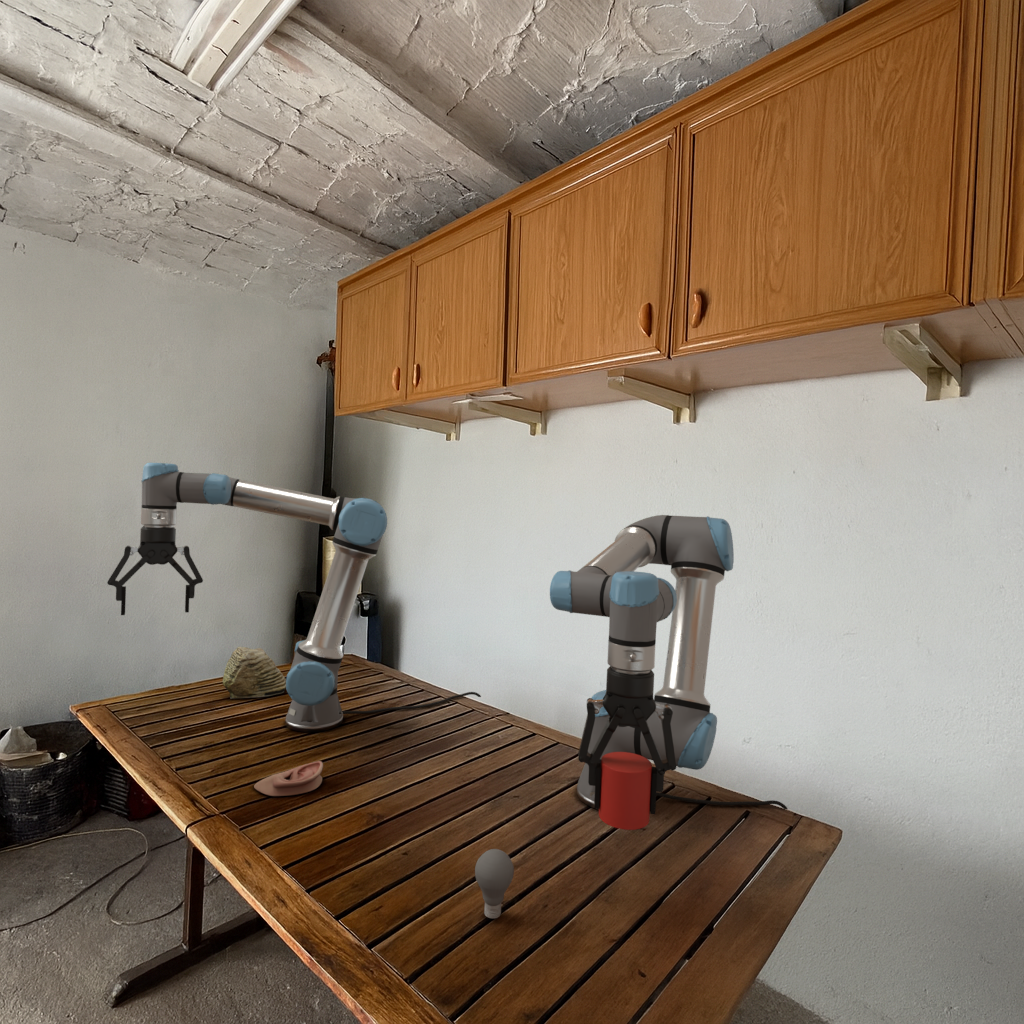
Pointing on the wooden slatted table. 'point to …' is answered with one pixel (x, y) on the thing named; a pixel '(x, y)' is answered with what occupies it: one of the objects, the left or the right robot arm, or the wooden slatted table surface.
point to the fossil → (252, 674)
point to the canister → (625, 790)
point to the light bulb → (494, 879)
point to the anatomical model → (292, 781)
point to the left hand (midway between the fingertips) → (155, 613)
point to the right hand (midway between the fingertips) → (624, 807)
